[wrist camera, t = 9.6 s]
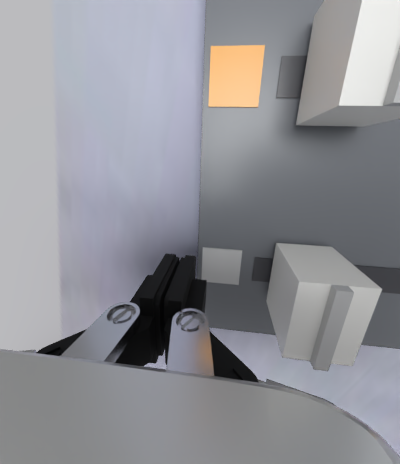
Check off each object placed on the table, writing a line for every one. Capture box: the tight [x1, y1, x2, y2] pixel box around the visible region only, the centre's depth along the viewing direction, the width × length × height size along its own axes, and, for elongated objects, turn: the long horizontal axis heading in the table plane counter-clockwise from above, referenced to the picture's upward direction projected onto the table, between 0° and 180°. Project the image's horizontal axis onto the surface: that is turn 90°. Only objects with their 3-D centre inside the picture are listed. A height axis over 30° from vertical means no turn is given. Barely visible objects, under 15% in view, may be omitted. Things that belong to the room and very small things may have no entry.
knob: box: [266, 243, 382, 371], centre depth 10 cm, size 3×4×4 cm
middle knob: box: [296, 0, 400, 127], centre depth 7 cm, size 3×4×4 cm
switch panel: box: [197, 0, 400, 349], centre depth 10 cm, size 18×30×3 cm, turn 178°
